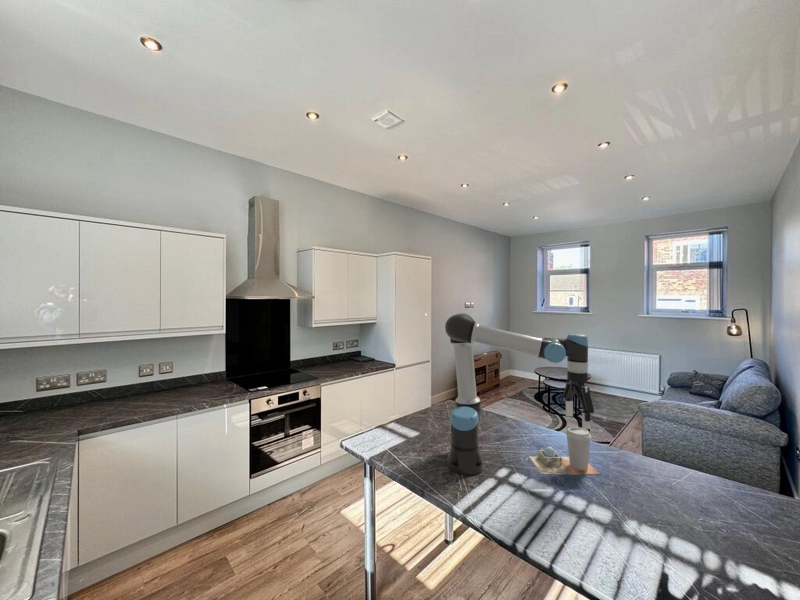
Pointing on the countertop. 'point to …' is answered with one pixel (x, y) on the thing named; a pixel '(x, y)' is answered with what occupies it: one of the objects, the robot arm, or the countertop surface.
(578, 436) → the coffee cup
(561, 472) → the board
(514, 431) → the countertop surface
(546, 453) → the dome
